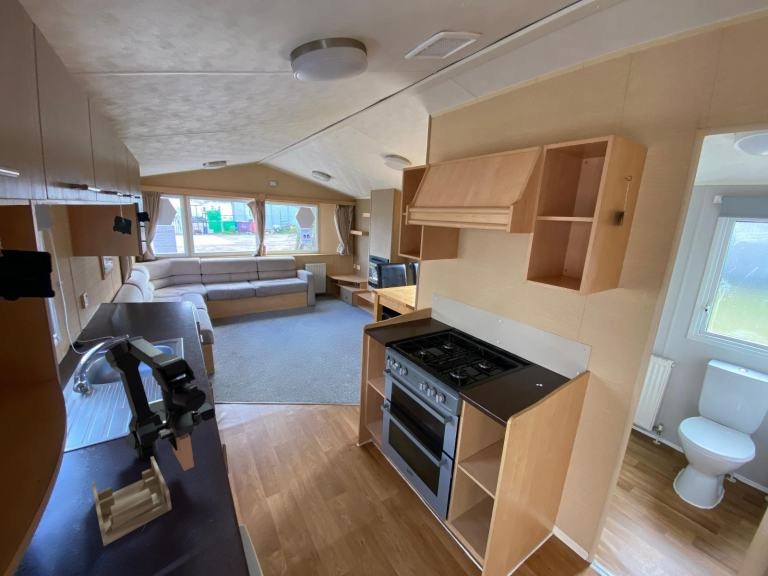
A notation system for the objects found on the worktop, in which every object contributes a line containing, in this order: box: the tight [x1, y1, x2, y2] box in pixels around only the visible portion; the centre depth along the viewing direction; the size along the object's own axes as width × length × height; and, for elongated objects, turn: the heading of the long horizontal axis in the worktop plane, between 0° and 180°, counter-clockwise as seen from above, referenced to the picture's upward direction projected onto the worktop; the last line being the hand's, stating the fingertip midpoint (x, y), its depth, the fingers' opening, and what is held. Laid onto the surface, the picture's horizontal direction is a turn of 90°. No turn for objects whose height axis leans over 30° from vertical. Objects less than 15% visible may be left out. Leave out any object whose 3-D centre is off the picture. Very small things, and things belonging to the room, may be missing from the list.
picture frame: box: [148, 398, 193, 424], centre depth 131 cm, size 16×3×21 cm
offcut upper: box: [110, 488, 153, 525], centre depth 82 cm, size 4×8×2 cm, turn 136°
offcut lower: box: [109, 493, 160, 531], centre depth 83 cm, size 4×10×2 cm, turn 136°
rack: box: [91, 457, 173, 547], centre depth 86 cm, size 18×14×7 cm
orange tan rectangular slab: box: [171, 428, 195, 472], centre depth 94 cm, size 2×12×10 cm, turn 46°
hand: (181, 447), depth 95 cm, fingers closed on orange tan rectangular slab, 2 cm apart
